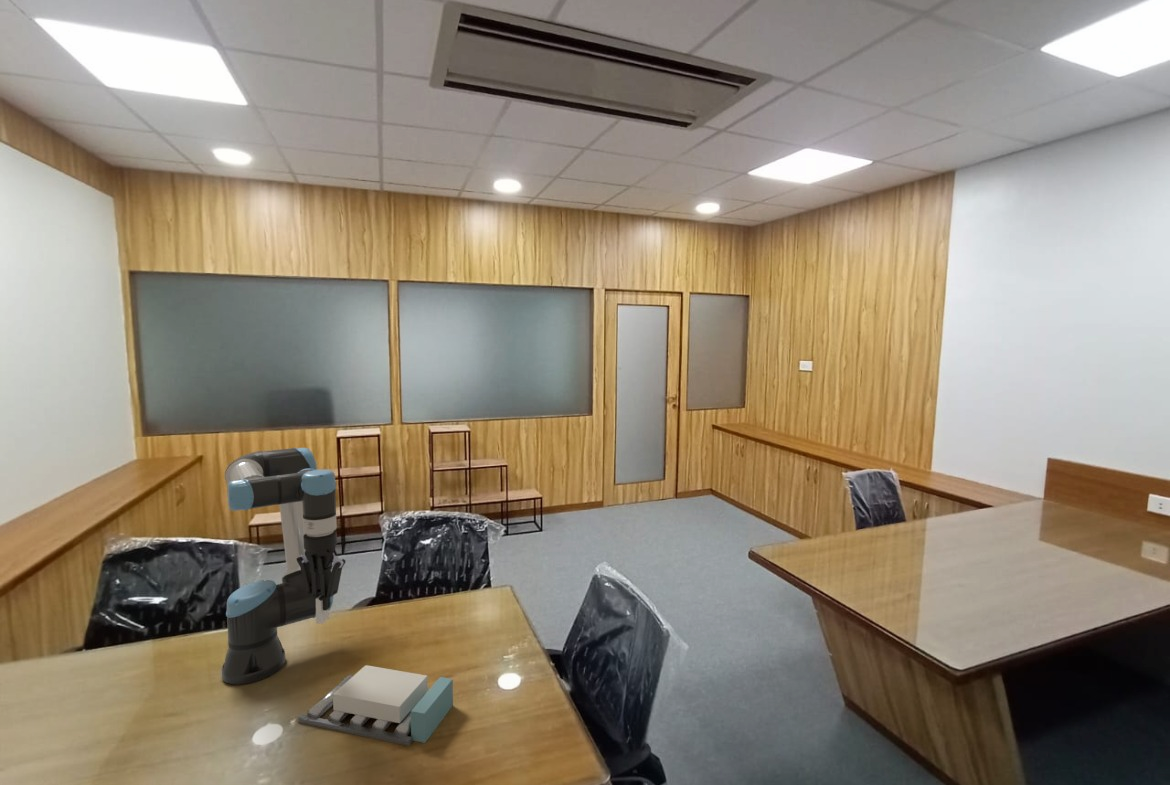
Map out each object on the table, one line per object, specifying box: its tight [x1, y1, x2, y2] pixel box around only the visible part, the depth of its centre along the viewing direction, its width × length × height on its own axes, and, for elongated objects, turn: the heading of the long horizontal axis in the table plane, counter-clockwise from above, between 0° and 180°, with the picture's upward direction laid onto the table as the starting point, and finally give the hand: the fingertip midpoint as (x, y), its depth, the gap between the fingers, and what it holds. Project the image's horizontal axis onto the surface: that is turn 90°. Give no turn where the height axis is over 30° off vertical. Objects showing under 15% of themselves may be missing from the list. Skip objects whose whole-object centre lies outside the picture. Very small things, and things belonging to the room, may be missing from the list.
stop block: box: [410, 676, 454, 744], centre depth 124 cm, size 4×13×7 cm, turn 166°
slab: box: [332, 664, 429, 724], centre depth 127 cm, size 18×12×4 cm, turn 76°
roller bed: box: [297, 674, 427, 747], centre depth 128 cm, size 16×30×3 cm, turn 76°
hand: (322, 620), depth 133 cm, fingers closed
